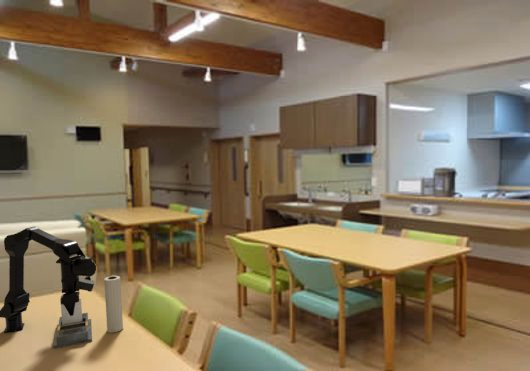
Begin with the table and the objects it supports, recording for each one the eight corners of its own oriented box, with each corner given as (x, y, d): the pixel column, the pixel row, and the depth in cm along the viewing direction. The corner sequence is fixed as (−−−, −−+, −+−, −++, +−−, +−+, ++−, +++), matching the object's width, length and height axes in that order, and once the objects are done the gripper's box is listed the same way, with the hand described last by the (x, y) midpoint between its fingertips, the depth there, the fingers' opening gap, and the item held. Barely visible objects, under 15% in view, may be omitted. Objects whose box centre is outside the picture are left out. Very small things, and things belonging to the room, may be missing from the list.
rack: (57, 327, 167) (56, 317, 167) (91, 321, 172) (90, 311, 172) (53, 348, 148) (52, 337, 148) (92, 341, 153) (91, 330, 153)
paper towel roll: (117, 333, 160) (114, 280, 158) (104, 332, 161) (100, 279, 159) (127, 325, 167) (124, 274, 165) (114, 324, 168) (111, 274, 166)
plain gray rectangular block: (62, 321, 158) (61, 301, 157) (82, 318, 160) (81, 298, 160) (62, 324, 155) (60, 304, 154) (82, 321, 158) (81, 301, 157)
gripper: (92, 278, 151) (95, 318, 152) (92, 266, 168) (94, 302, 169) (59, 282, 146) (61, 324, 148) (61, 269, 163) (64, 307, 165)
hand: (71, 314), depth 157 cm, fingers closed on plain gray rectangular block, 3 cm apart
